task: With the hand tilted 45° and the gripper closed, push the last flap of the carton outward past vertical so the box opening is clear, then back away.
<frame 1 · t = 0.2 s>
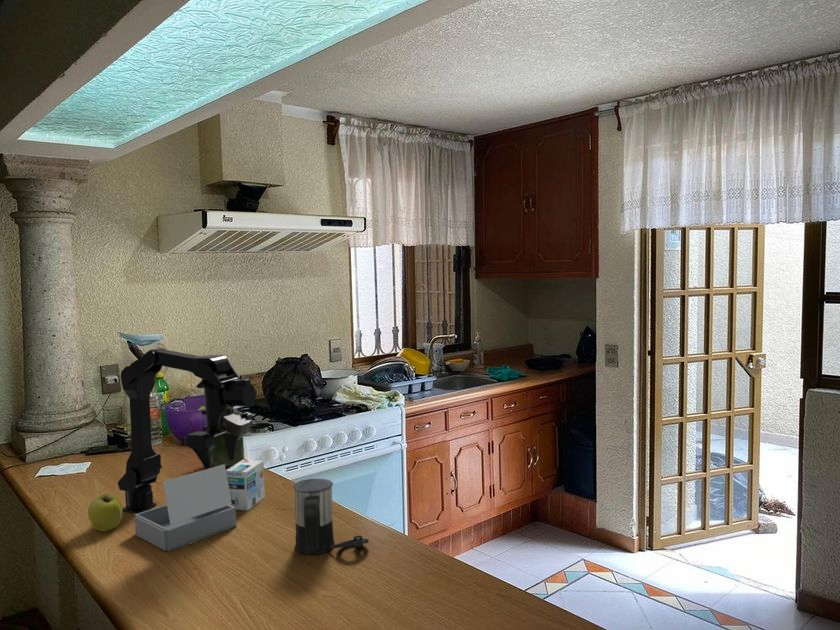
hand: (220, 465, 162), 15 cm above the countertop, tool pointing down, fingers open, 9 cm apart
green bottle: (228, 463, 212), on the countertop
carton: (186, 530, 157), on the countertop
light bulb box: (245, 504, 175), on the countertop
milk frother: (331, 548, 146), on the countertop
apple: (106, 530, 158), on the countertop
carton flap: (198, 493, 152), point 11 cm above the countertop, hinge at -13.8°
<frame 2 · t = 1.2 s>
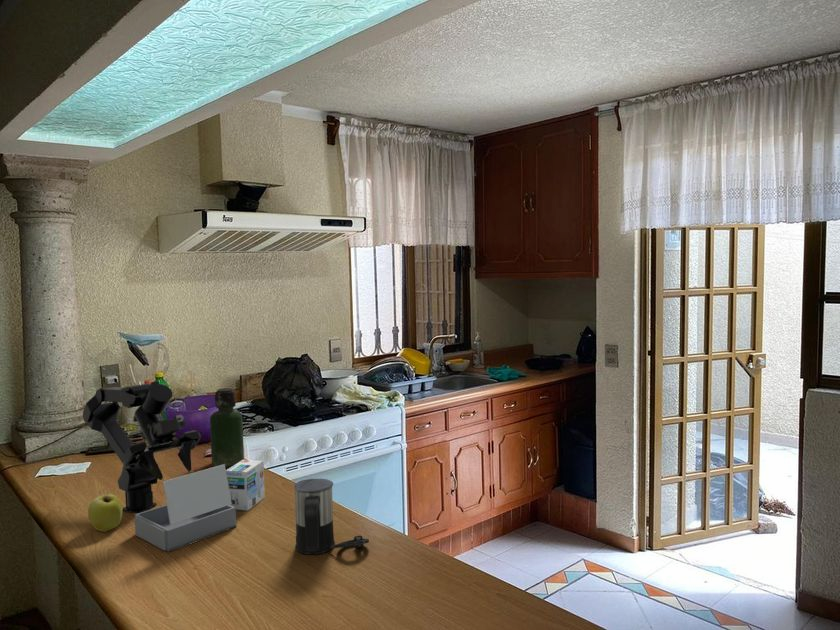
hand: (176, 474, 159), 13 cm above the countertop, tool tilted 45°, fingers open, 7 cm apart
nothing on the countertop moved.
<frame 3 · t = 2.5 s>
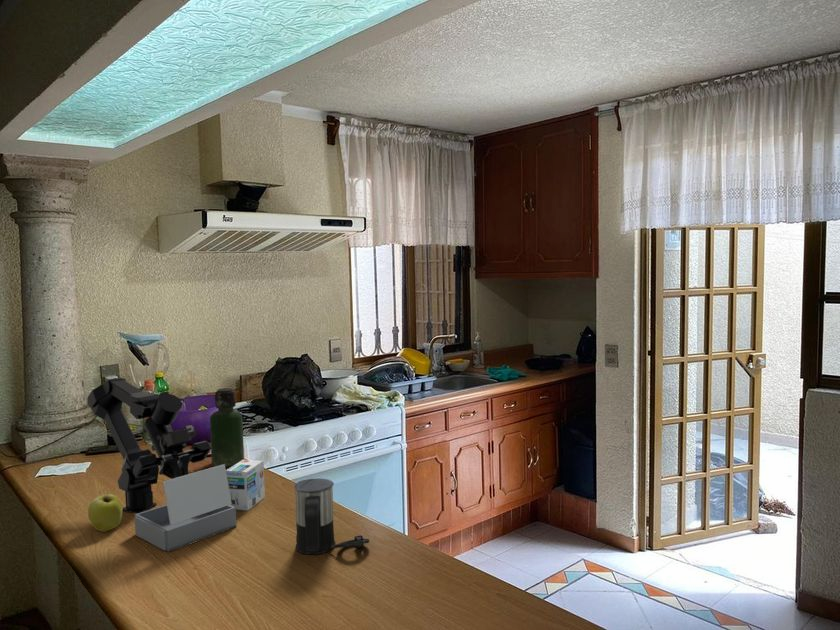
hand: (187, 486, 155), 11 cm above the countertop, tool tilted 45°, fingers closed
nothing on the countertop moved.
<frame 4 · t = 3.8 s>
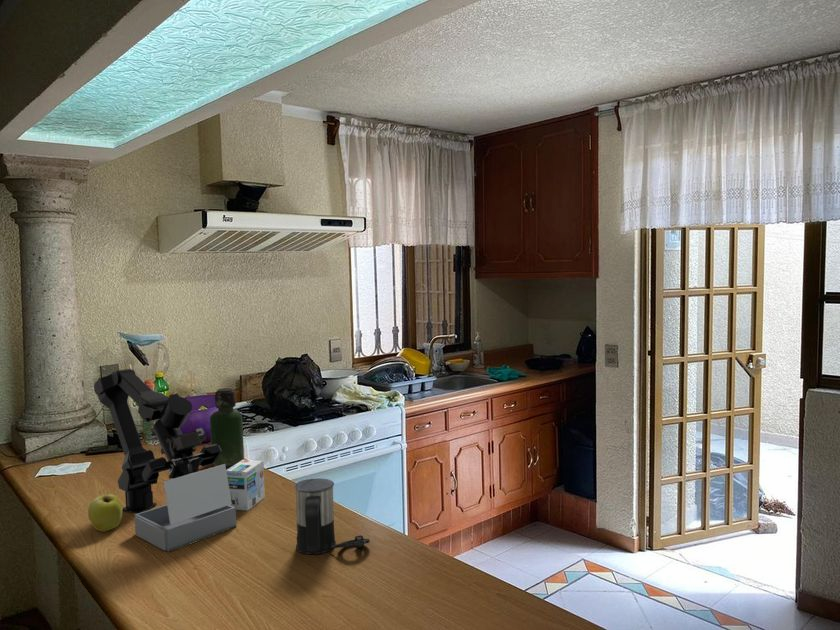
hand: (197, 490, 152), 11 cm above the countertop, tool tilted 45°, fingers closed, pressing on carton flap
carton flap: (198, 493, 152), point 11 cm above the countertop, hinge at -12.5°, touching gripper
everything else where it was.
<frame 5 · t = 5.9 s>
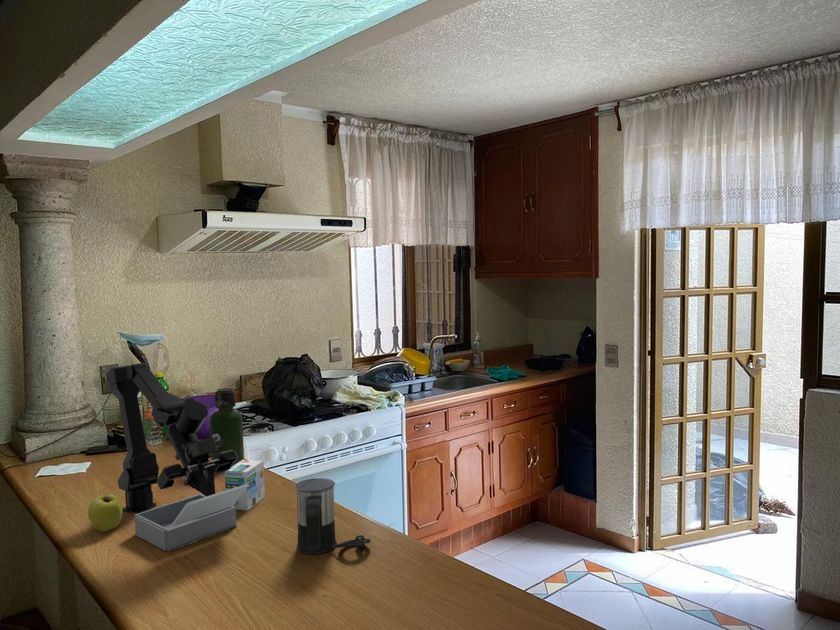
hand: (213, 498, 148), 11 cm above the countertop, tool tilted 45°, fingers closed
carton flap: (211, 504, 149), point 9 cm above the countertop, hinge at 47.0°
everything else where it was.
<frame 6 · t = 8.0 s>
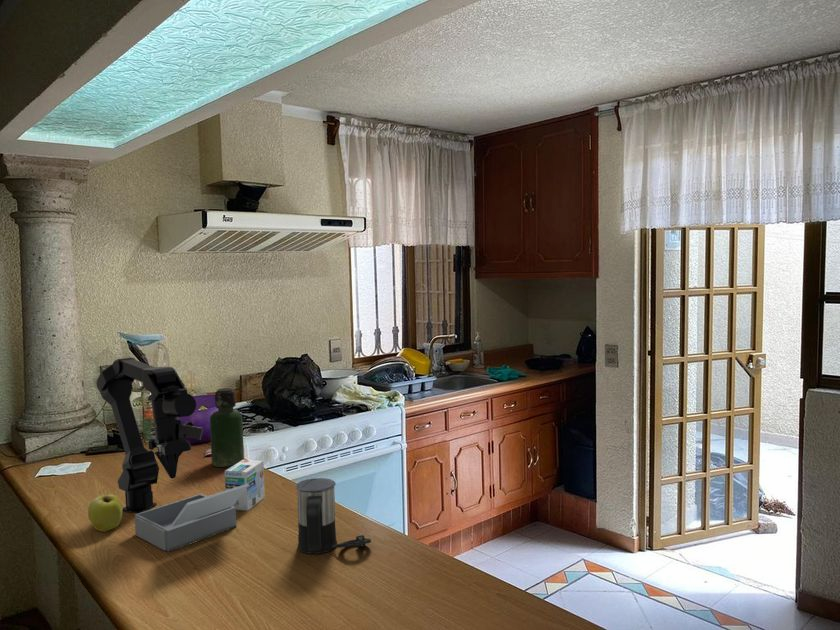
hand: (173, 478, 160), 12 cm above the countertop, tool pointing down, fingers closed
nothing on the countertop moved.
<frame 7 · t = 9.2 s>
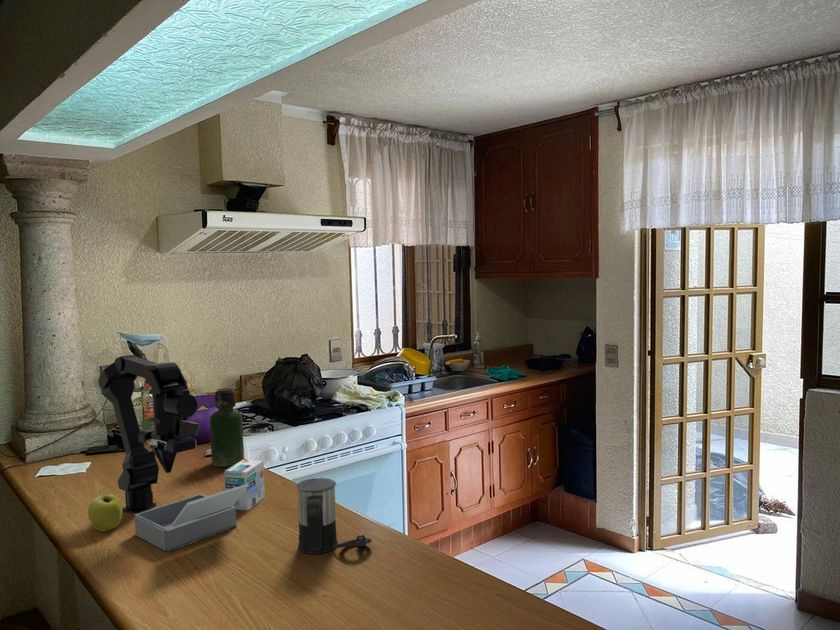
hand: (168, 472, 162), 13 cm above the countertop, tool pointing down, fingers closed
nothing on the countertop moved.
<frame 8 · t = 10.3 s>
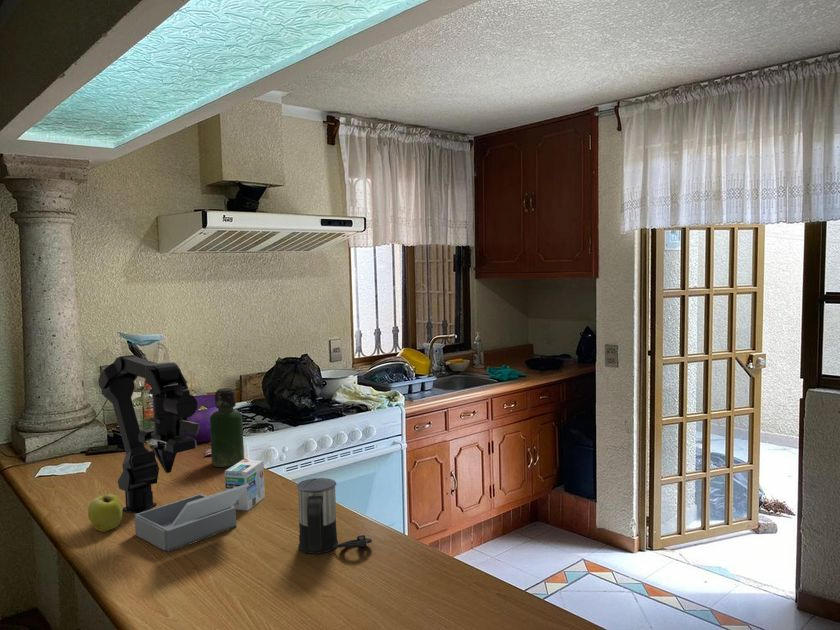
hand: (168, 472, 162), 13 cm above the countertop, tool pointing down, fingers closed
nothing on the countertop moved.
at the end: carton flap at +47° (first picture: -14°); light bulb box moved 0.3 cm from its start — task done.
